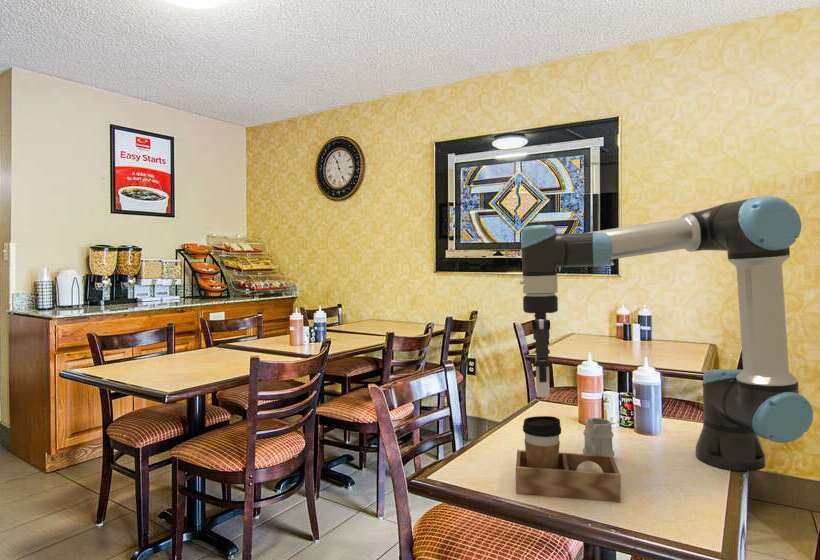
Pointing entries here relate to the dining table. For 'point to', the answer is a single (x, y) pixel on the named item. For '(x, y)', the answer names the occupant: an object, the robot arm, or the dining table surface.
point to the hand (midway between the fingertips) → (542, 389)
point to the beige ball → (589, 467)
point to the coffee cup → (542, 441)
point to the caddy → (570, 478)
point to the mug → (598, 437)
